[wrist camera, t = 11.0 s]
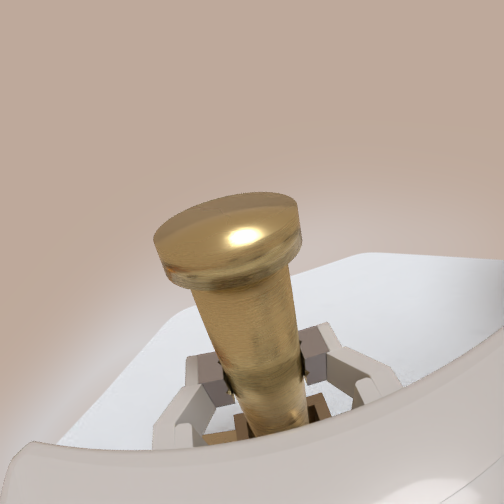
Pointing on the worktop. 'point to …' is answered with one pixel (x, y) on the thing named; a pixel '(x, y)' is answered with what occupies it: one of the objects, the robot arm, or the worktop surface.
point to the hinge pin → (245, 297)
